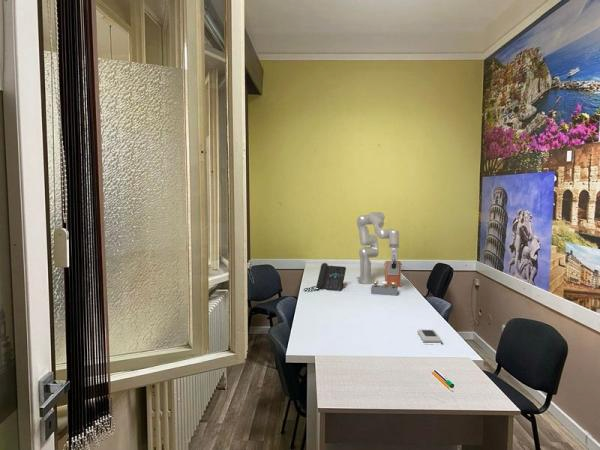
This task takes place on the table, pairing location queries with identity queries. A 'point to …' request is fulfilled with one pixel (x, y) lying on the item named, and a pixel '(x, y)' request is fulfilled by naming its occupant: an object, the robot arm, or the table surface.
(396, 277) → the control panel
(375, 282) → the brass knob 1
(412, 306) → the table surface
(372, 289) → the mount
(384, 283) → the grey knob middle
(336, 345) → the table surface
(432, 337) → the keypad
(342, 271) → the office phone
